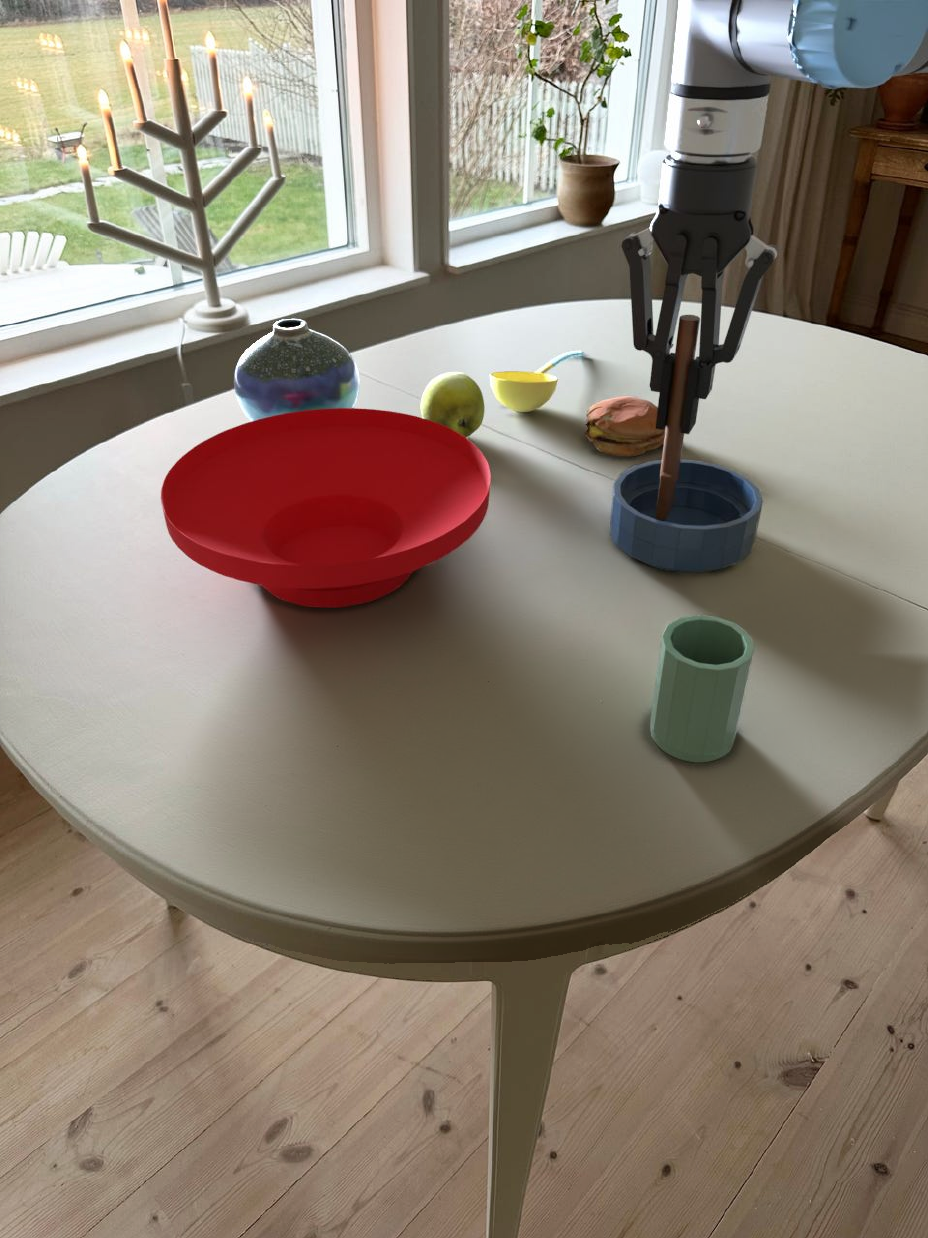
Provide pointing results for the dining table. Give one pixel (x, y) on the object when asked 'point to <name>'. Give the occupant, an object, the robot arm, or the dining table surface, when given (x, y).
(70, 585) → the dining table surface
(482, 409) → the apple
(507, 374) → the ladle
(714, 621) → the crock
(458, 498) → the bowl
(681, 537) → the blue pet dish
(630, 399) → the burger
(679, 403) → the stick
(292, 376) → the vase
